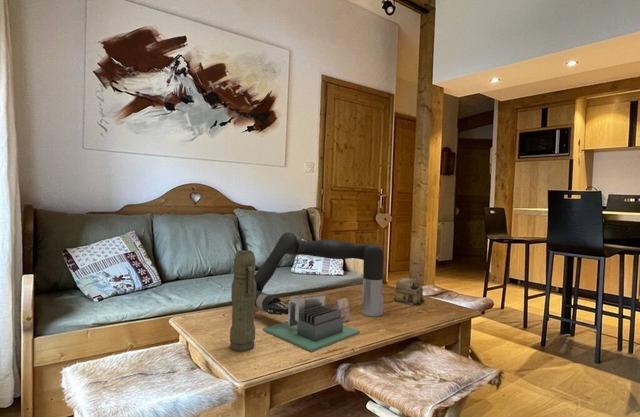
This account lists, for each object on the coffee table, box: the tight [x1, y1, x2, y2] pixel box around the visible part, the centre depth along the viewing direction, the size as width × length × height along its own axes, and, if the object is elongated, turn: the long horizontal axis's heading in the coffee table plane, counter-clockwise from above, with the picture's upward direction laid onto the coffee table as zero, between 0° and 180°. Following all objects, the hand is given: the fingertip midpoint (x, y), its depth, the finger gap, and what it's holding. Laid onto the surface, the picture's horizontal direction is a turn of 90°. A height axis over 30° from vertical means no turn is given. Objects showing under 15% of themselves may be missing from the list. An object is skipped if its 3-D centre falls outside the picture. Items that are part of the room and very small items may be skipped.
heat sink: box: [262, 295, 361, 353], centre depth 153 cm, size 28×28×16 cm
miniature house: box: [393, 276, 425, 307], centre depth 203 cm, size 15×14×11 cm
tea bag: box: [333, 297, 350, 323], centre depth 168 cm, size 4×7×10 cm, turn 135°
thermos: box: [229, 249, 256, 353], centre depth 136 cm, size 9×12×35 cm
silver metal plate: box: [287, 295, 327, 327], centre depth 155 cm, size 18×2×10 cm, turn 124°
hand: (293, 313), depth 153 cm, fingers closed
